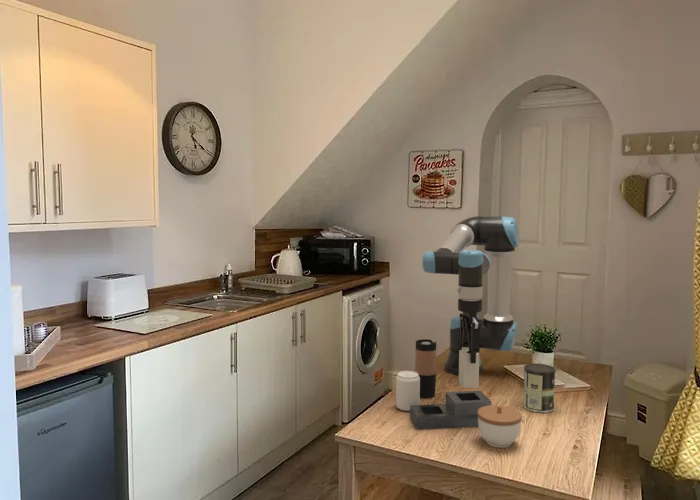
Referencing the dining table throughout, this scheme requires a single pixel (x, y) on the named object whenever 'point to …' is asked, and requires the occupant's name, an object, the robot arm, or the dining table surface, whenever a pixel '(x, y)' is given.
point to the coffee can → (539, 388)
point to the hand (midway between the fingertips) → (468, 369)
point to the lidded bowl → (499, 425)
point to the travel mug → (426, 367)
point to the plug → (464, 377)
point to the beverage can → (407, 390)
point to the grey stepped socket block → (450, 411)
